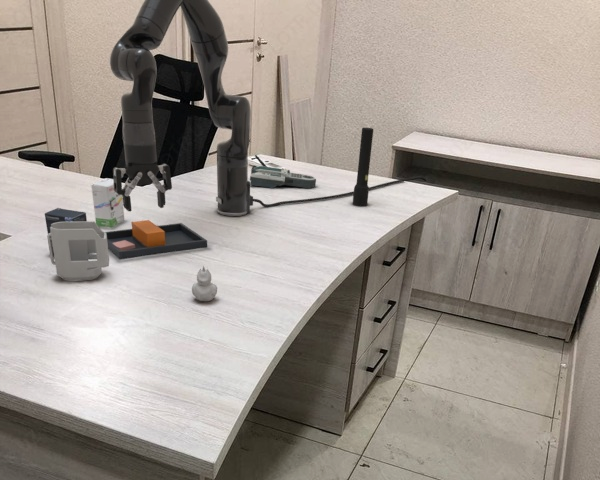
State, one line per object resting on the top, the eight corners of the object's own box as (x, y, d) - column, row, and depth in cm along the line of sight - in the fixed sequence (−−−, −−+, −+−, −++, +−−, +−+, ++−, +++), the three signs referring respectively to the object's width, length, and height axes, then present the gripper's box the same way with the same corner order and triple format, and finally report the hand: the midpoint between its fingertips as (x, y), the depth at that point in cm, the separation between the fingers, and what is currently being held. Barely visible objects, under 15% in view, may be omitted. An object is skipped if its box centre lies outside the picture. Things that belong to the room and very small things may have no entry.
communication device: (315, 191, 224) (317, 166, 219) (249, 187, 223) (250, 161, 219) (315, 183, 234) (317, 159, 229) (252, 179, 234) (252, 154, 229)
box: (50, 256, 154) (43, 212, 148) (64, 249, 158) (58, 207, 153) (78, 260, 152) (72, 217, 146) (91, 253, 157) (86, 211, 151)
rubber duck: (190, 304, 134) (189, 268, 130) (194, 292, 139) (193, 257, 135) (215, 305, 134) (215, 269, 130) (218, 293, 140) (218, 259, 135)
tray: (181, 231, 176) (181, 222, 175) (207, 249, 164) (207, 240, 163) (98, 241, 165) (97, 232, 163) (120, 261, 153) (119, 252, 152)
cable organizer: (110, 281, 142) (104, 228, 136) (52, 282, 139) (44, 229, 133) (110, 270, 148) (105, 220, 141) (55, 272, 145) (47, 220, 139)
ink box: (111, 229, 174) (107, 186, 168) (95, 227, 175) (90, 184, 169) (125, 221, 181) (121, 179, 175) (109, 219, 182) (105, 177, 176)
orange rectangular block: (150, 236, 169) (149, 219, 166) (166, 249, 161) (165, 231, 159) (132, 239, 166) (130, 221, 164) (147, 251, 159) (146, 233, 156)
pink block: (125, 243, 163) (124, 240, 162) (135, 248, 160) (135, 244, 160) (110, 247, 160) (109, 243, 159) (120, 251, 157) (119, 247, 157)
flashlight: (349, 203, 212) (360, 207, 209) (356, 127, 199) (368, 129, 196) (359, 201, 215) (370, 205, 212) (367, 126, 202) (378, 129, 199)
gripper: (115, 146, 144) (122, 216, 153) (173, 142, 151) (177, 209, 160) (105, 140, 149) (112, 208, 158) (161, 136, 156) (165, 202, 165)
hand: (145, 208), depth 159 cm, fingers open, 8 cm apart
